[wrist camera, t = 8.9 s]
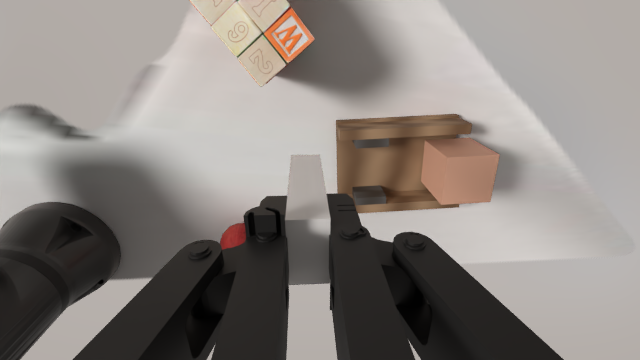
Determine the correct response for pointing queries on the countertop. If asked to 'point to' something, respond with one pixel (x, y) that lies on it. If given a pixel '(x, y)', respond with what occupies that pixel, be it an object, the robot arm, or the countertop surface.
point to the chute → (390, 160)
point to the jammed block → (459, 170)
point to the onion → (233, 236)
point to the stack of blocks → (257, 33)
